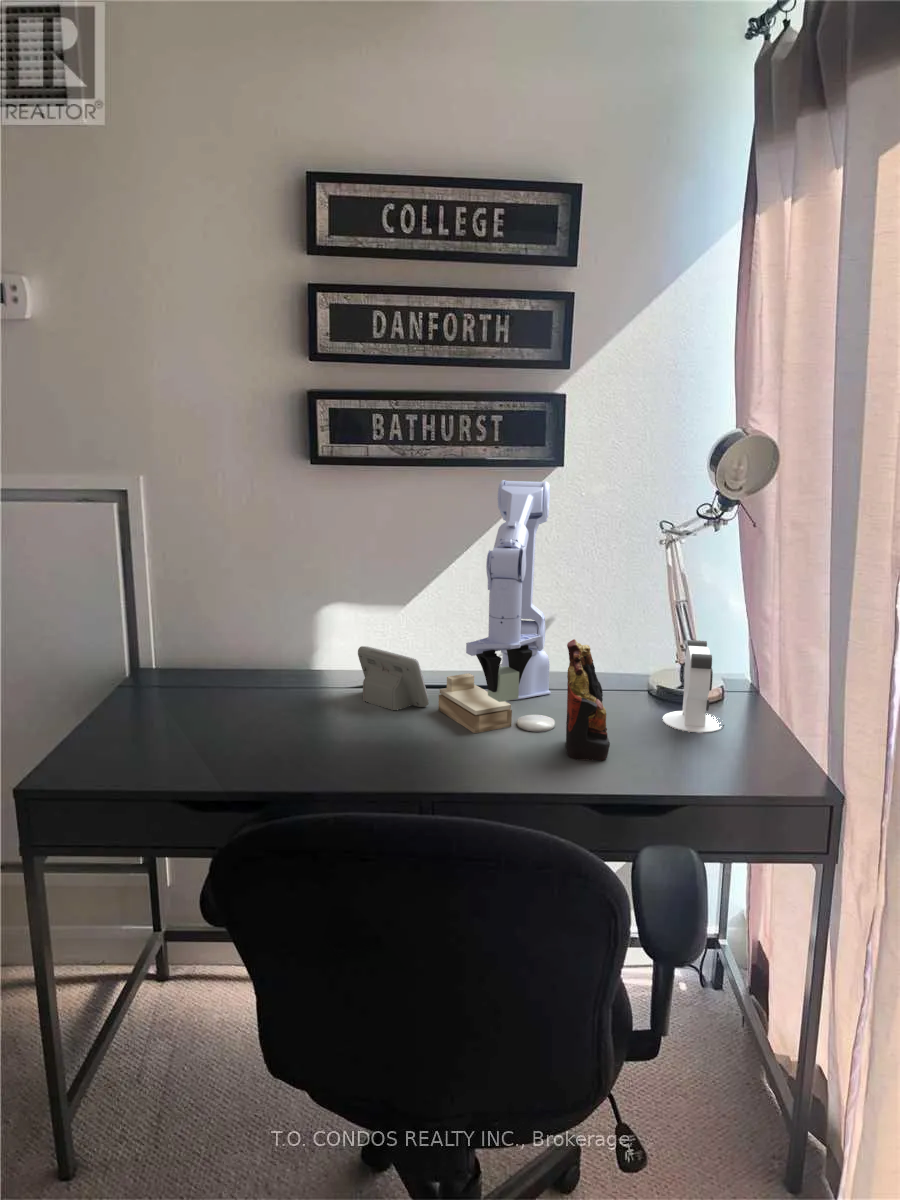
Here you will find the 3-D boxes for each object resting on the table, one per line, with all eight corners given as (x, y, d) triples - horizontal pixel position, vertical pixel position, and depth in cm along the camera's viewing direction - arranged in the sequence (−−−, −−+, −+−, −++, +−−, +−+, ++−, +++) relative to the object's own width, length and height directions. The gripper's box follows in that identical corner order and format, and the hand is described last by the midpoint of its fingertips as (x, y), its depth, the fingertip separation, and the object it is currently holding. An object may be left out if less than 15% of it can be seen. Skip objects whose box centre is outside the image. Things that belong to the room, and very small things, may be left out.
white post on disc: (727, 736, 164) (734, 657, 161) (664, 732, 166) (669, 654, 163) (720, 714, 176) (726, 640, 173) (660, 710, 178) (665, 637, 174)
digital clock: (433, 708, 177) (433, 656, 175) (395, 717, 172) (395, 664, 170) (386, 687, 190) (386, 638, 188) (350, 695, 184) (349, 645, 182)
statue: (608, 764, 152) (614, 650, 147) (561, 760, 153) (565, 647, 148) (609, 737, 163) (615, 631, 159) (565, 734, 165) (569, 628, 160)
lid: (473, 687, 179) (473, 671, 178) (511, 708, 167) (511, 691, 166) (439, 693, 176) (439, 676, 175) (475, 715, 164) (476, 697, 163)
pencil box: (473, 704, 180) (474, 688, 179) (511, 726, 168) (511, 710, 167) (438, 710, 176) (438, 694, 175) (474, 733, 164) (474, 716, 164)
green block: (506, 692, 165) (507, 666, 163) (518, 698, 161) (519, 672, 160) (487, 695, 163) (488, 669, 162) (499, 702, 159) (500, 675, 158)
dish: (540, 716, 173) (541, 712, 173) (562, 728, 167) (562, 724, 167) (510, 722, 170) (510, 718, 170) (530, 734, 164) (530, 730, 164)
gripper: (481, 624, 152) (479, 701, 155) (551, 615, 159) (549, 689, 162) (460, 615, 158) (459, 689, 161) (529, 607, 165) (527, 678, 168)
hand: (503, 688), depth 162 cm, fingers closed on green block, 4 cm apart
